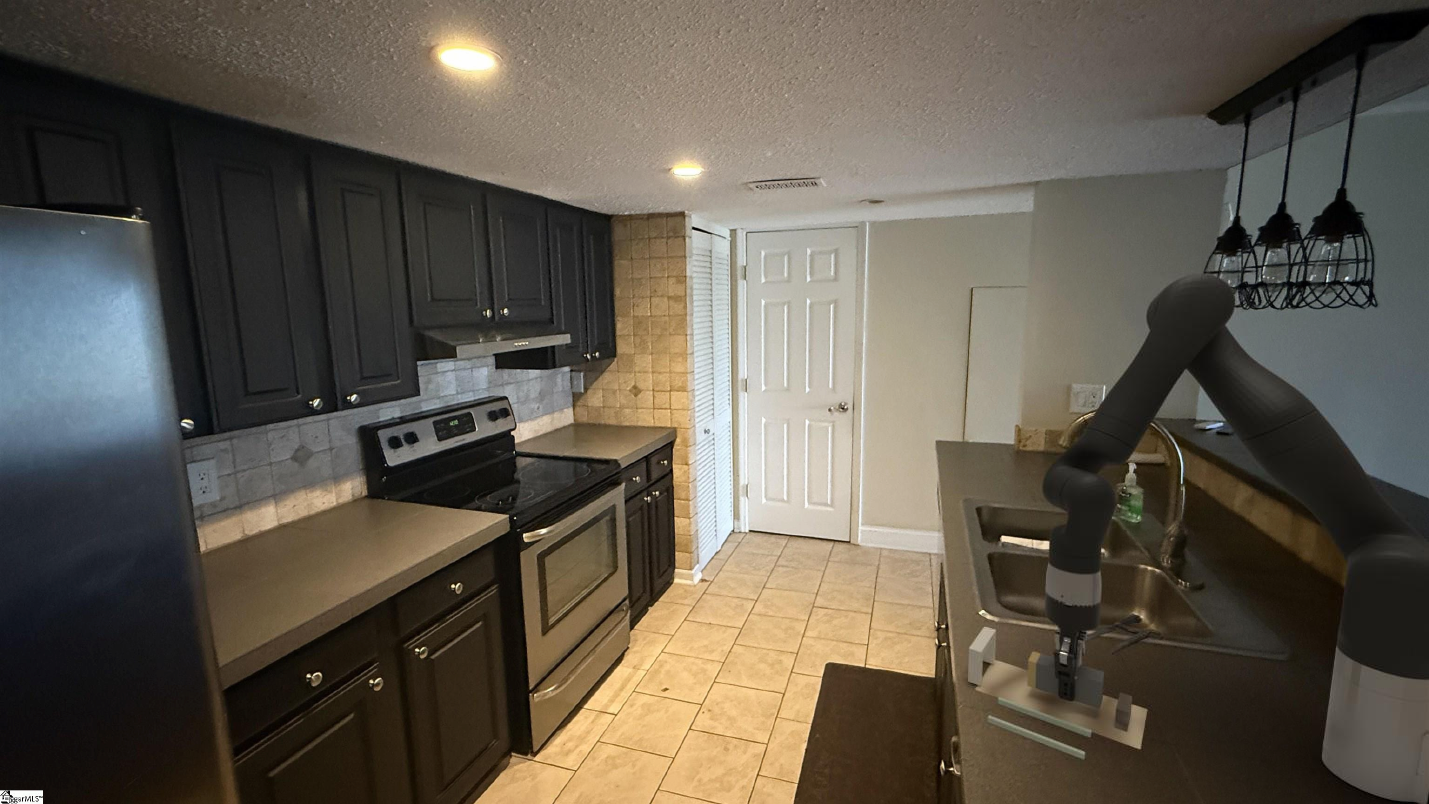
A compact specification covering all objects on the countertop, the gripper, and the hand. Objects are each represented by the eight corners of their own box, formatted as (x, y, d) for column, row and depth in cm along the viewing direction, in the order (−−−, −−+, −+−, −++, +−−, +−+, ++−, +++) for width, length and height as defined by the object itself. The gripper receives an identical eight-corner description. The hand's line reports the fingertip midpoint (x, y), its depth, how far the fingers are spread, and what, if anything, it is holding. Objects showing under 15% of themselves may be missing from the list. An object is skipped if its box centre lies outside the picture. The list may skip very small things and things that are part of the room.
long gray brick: (1102, 697, 95) (1104, 671, 94) (1099, 709, 93) (1101, 682, 92) (1031, 675, 102) (1032, 651, 101) (1027, 685, 99) (1028, 660, 98)
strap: (994, 661, 109) (996, 629, 108) (980, 685, 102) (981, 652, 101) (983, 657, 110) (984, 626, 109) (967, 681, 103) (969, 648, 102)
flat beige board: (1147, 712, 95) (1148, 690, 95) (1140, 753, 87) (1141, 729, 86) (993, 662, 110) (994, 643, 109) (975, 692, 102) (975, 672, 101)
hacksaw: (1133, 618, 124) (1133, 611, 124) (1189, 642, 115) (1190, 634, 114) (1055, 649, 114) (1056, 641, 114) (1110, 678, 105) (1111, 670, 104)
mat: (1090, 738, 90) (1091, 730, 90) (1083, 763, 85) (1084, 754, 85) (998, 704, 98) (999, 697, 98) (987, 725, 94) (987, 717, 93)
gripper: (1054, 570, 102) (1050, 664, 104) (1036, 603, 91) (1033, 706, 94) (1106, 581, 97) (1101, 679, 100) (1094, 617, 86) (1088, 725, 89)
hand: (1068, 691), depth 97 cm, fingers closed on long gray brick, 3 cm apart
